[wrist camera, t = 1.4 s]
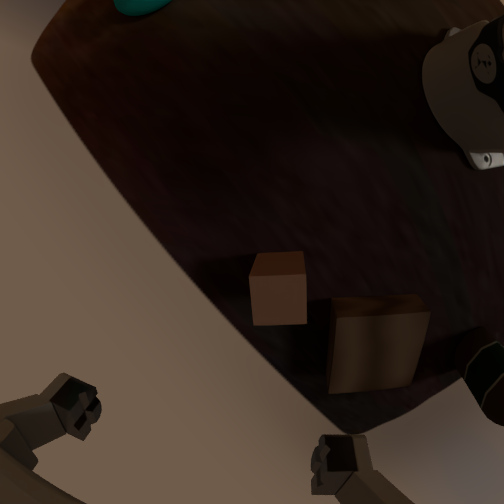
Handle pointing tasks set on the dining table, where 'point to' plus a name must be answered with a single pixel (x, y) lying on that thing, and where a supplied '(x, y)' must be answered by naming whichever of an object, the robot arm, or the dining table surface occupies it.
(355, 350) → the walnut block
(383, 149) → the dining table surface
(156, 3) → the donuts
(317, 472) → the robot arm
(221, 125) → the dining table surface
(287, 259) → the terracotta block
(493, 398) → the beer bottle
